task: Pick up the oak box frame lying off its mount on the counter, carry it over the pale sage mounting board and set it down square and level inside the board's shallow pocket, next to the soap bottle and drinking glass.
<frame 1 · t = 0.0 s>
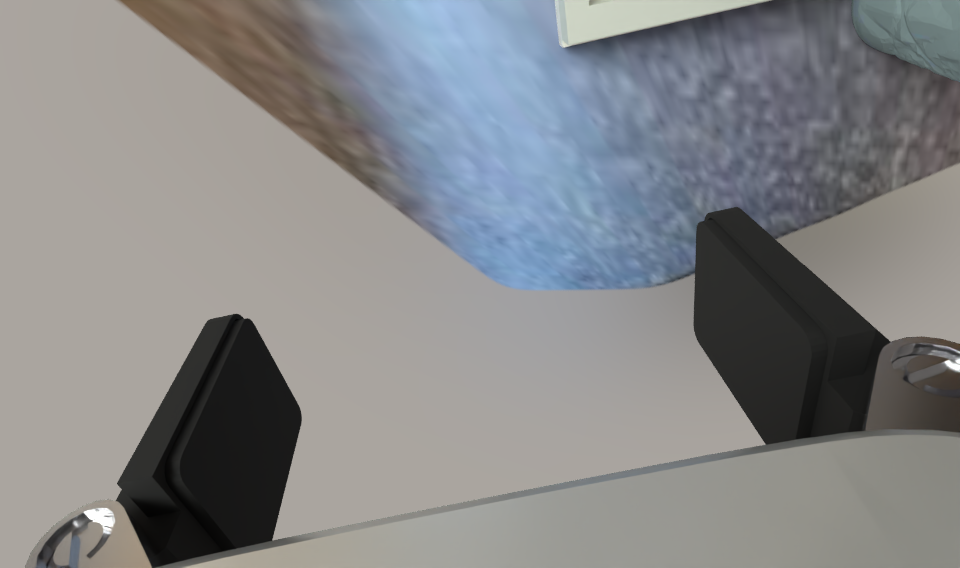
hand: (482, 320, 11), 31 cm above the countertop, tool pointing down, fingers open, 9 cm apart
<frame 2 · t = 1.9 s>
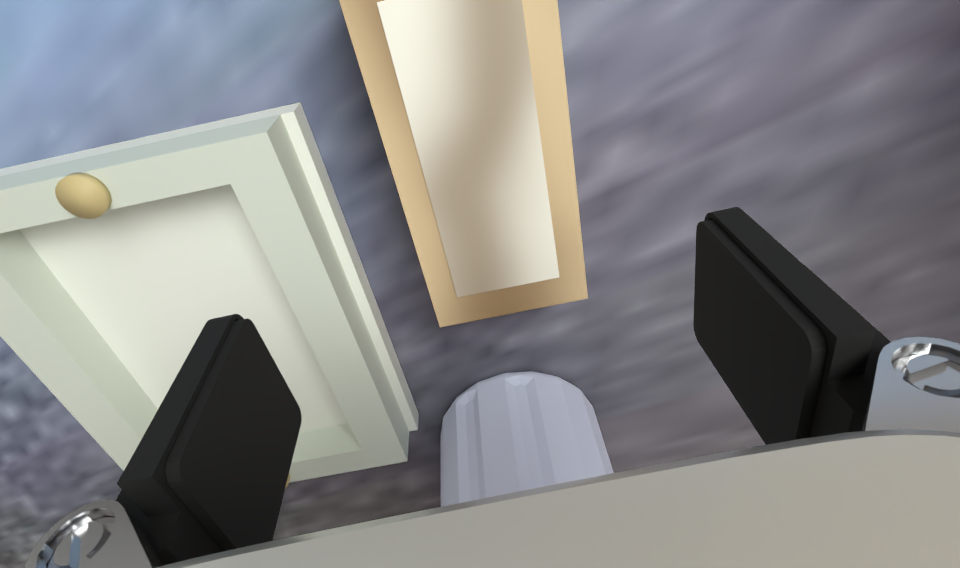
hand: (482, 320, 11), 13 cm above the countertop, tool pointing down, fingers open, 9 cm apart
board: (222, 317, 27), on the countertop
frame: (473, 115, 22), on the countertop
soap bottle: (516, 421, 32), on the countertop
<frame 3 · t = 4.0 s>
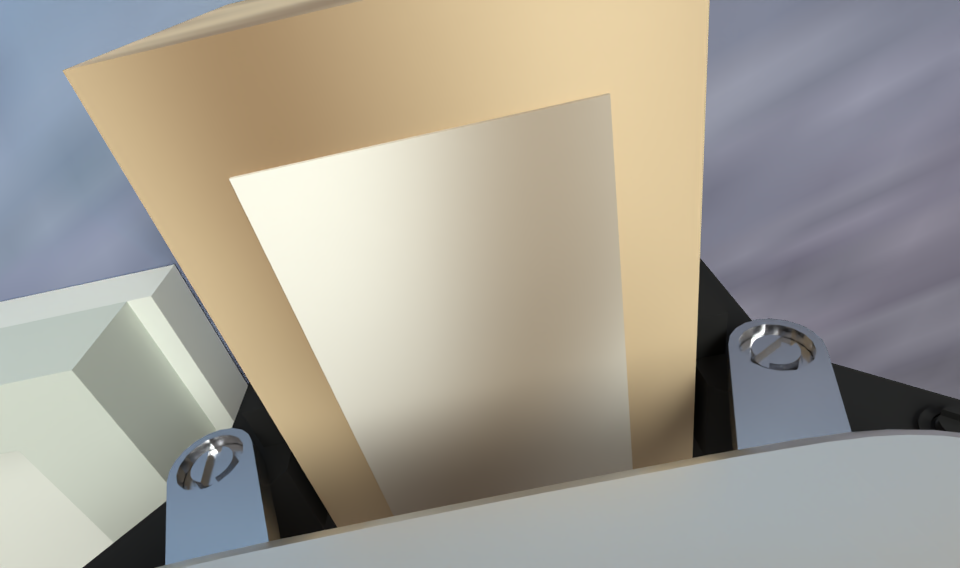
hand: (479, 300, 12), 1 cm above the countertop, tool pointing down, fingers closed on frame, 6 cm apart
board: (90, 552, 17), on the countertop
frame: (477, 281, 13), on the countertop, touching gripper
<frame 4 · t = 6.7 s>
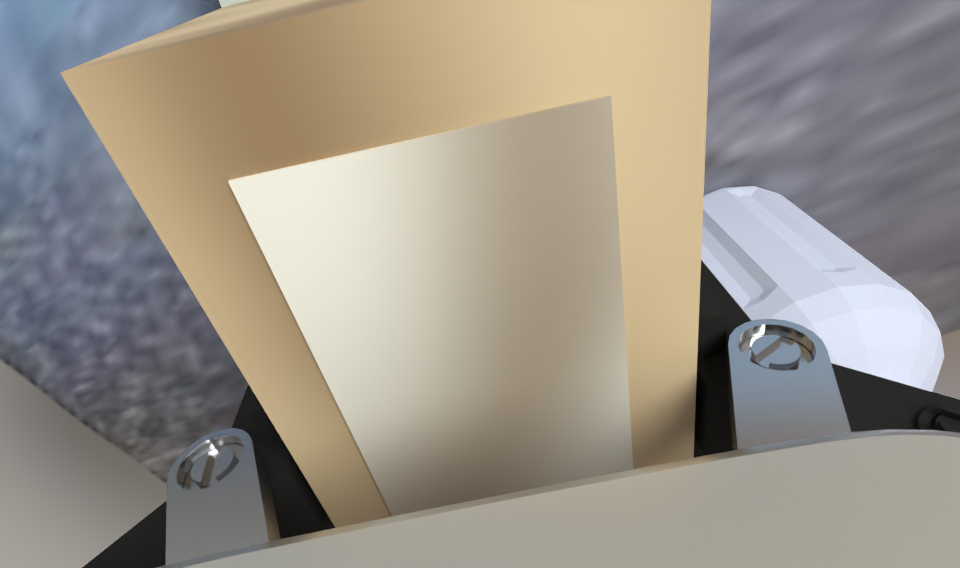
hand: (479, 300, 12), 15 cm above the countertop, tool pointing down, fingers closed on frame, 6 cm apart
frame: (477, 283, 13), point 15 cm above the countertop, touching gripper
soap bottle: (715, 255, 31), on the countertop
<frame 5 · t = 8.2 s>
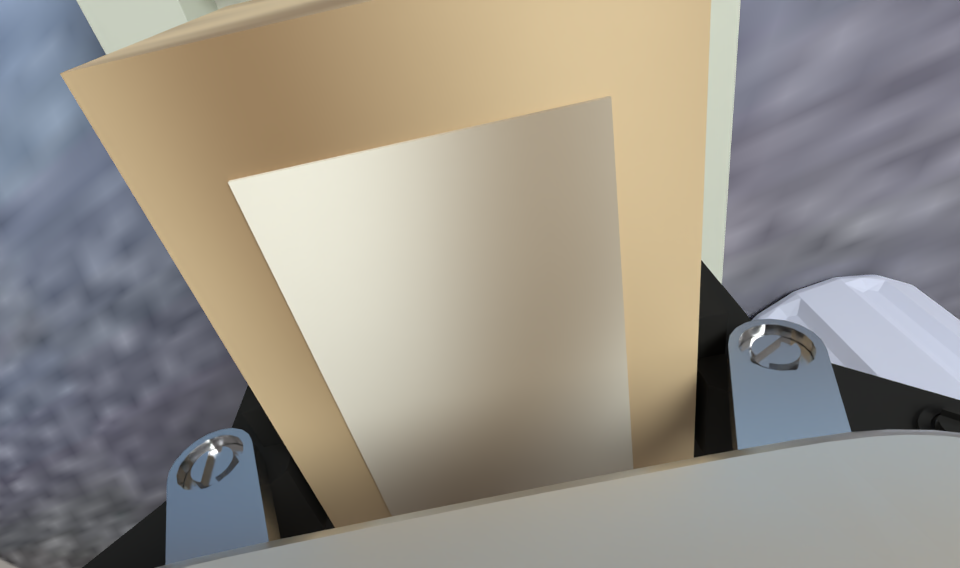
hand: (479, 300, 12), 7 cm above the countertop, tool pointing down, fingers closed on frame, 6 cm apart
board: (467, 179, 18), on the countertop
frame: (477, 283, 13), point 6 cm above the countertop, touching gripper
soap bottle: (812, 355, 23), on the countertop
when the fingers open (4 cm above the countertop, at t = 9.6 s): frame drops 2 cm, resting on board.
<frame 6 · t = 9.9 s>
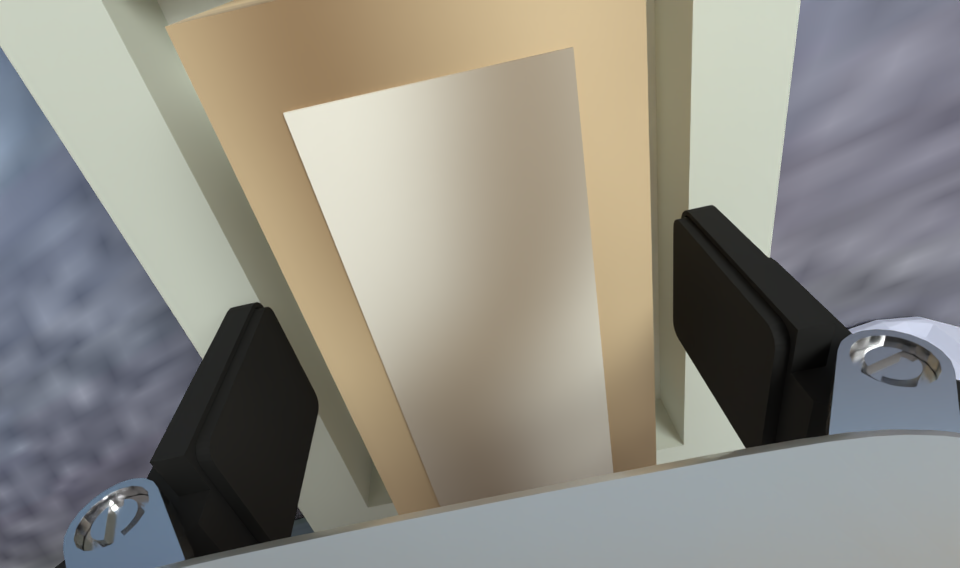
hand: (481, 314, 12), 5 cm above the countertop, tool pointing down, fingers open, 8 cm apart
board: (467, 218, 15), on the countertop
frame: (474, 235, 14), point 1 cm above the countertop, touching board
soap bottle: (846, 400, 21), on the countertop
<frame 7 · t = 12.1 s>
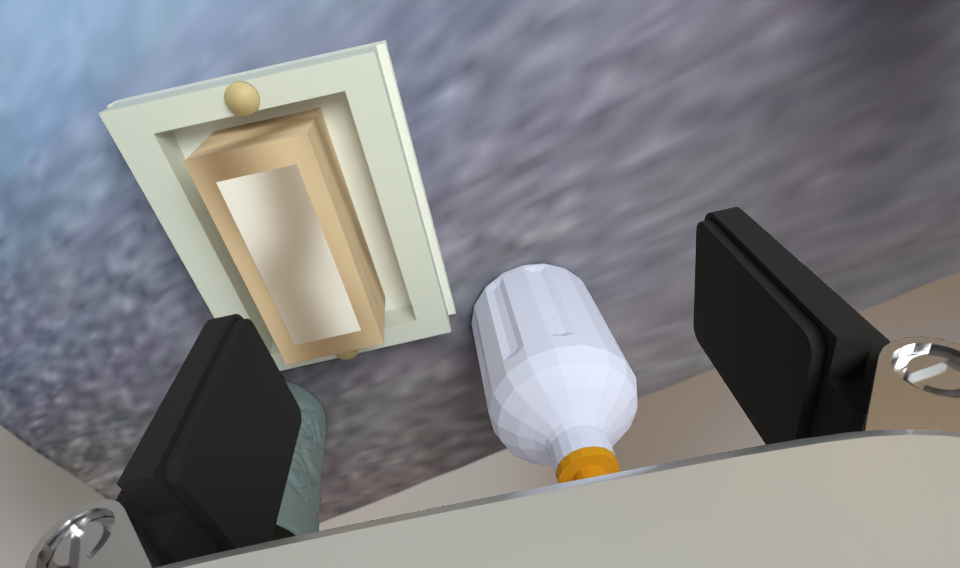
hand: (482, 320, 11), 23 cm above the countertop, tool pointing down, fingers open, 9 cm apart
board: (309, 216, 35), on the countertop
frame: (308, 223, 33), point 1 cm above the countertop, touching board
drinking glass: (270, 418, 43), on the countertop
soap bottle: (530, 311, 41), on the countertop
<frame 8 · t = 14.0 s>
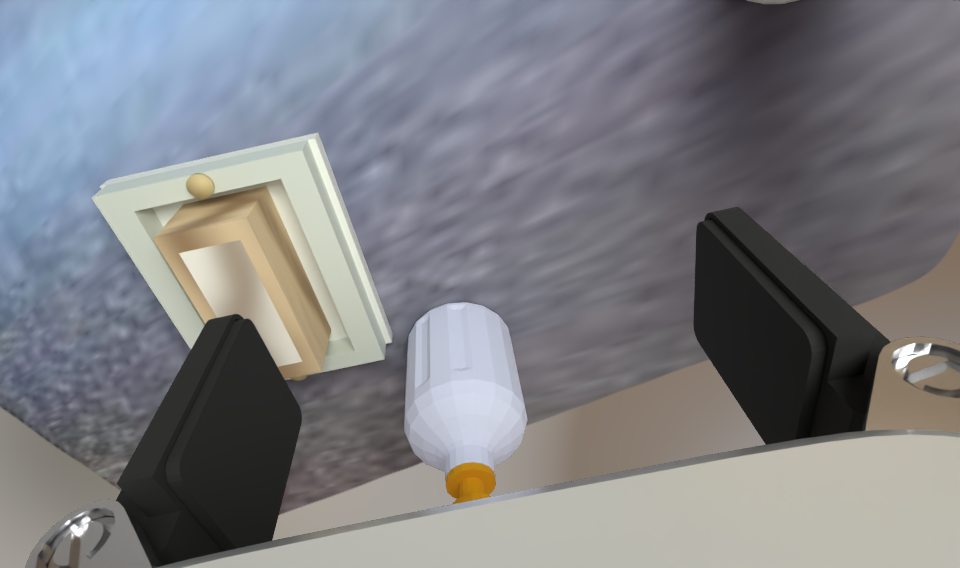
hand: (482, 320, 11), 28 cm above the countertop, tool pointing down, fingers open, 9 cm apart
board: (266, 265, 42), on the countertop
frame: (263, 272, 41), point 1 cm above the countertop, touching board
soap bottle: (459, 340, 48), on the countertop
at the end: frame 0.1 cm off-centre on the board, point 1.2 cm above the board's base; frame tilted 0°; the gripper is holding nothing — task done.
